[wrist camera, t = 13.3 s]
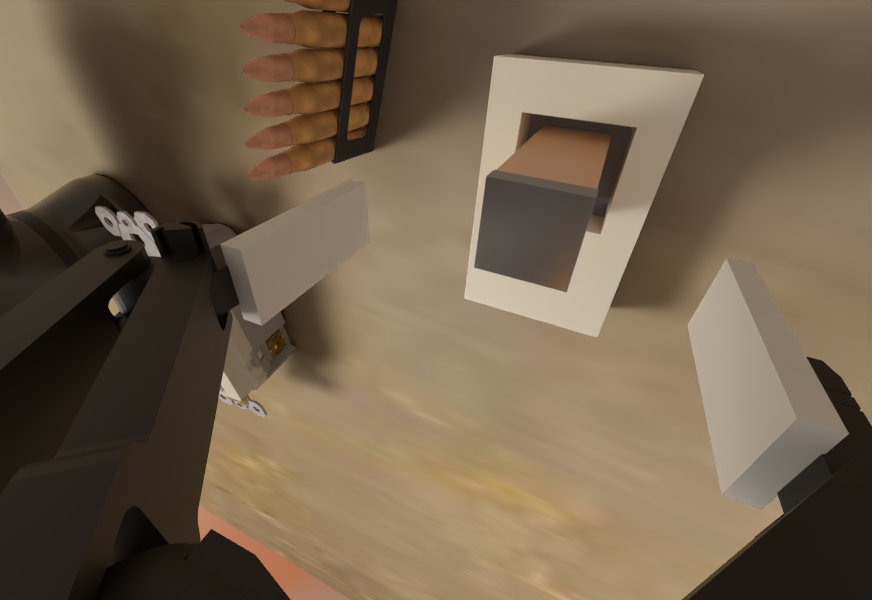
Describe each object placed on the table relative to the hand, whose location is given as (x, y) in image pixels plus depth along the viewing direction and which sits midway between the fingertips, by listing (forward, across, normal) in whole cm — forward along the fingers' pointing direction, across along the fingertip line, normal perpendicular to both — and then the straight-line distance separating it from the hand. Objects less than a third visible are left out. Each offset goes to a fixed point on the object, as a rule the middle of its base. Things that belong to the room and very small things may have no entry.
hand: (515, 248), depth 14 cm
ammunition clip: (+15, -14, +4) cm, 21 cm away
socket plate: (+14, 0, -2) cm, 14 cm away
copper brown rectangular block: (+13, 0, 0) cm, 13 cm away
